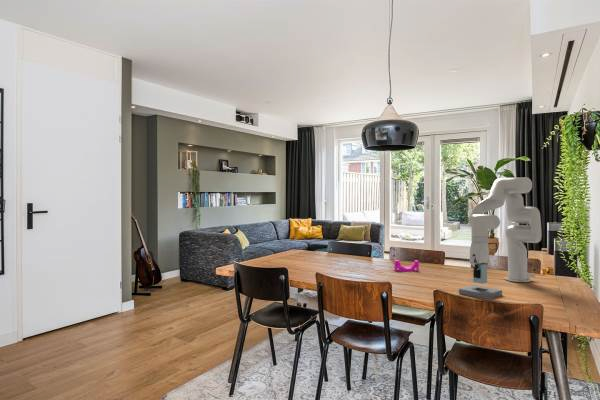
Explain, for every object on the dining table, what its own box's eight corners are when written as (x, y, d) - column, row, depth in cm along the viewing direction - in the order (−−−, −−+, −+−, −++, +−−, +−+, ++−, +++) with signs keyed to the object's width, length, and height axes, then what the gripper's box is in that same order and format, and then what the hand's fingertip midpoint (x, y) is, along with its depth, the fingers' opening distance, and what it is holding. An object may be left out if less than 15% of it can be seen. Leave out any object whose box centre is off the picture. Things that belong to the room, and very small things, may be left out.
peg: (478, 280, 186) (478, 262, 186) (487, 282, 182) (487, 264, 182) (473, 282, 183) (473, 263, 184) (482, 283, 180) (481, 265, 180)
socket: (474, 289, 193) (474, 285, 193) (502, 295, 181) (502, 290, 181) (458, 293, 185) (458, 288, 185) (486, 299, 173) (486, 294, 173)
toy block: (395, 273, 240) (395, 261, 240) (394, 271, 246) (394, 260, 247) (419, 273, 238) (419, 261, 238) (417, 271, 244) (417, 260, 244)
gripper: (482, 238, 191) (482, 274, 191) (462, 240, 181) (463, 277, 181) (496, 239, 185) (496, 276, 184) (477, 241, 175) (477, 280, 175)
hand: (480, 276), depth 183 cm, fingers closed on peg, 4 cm apart
